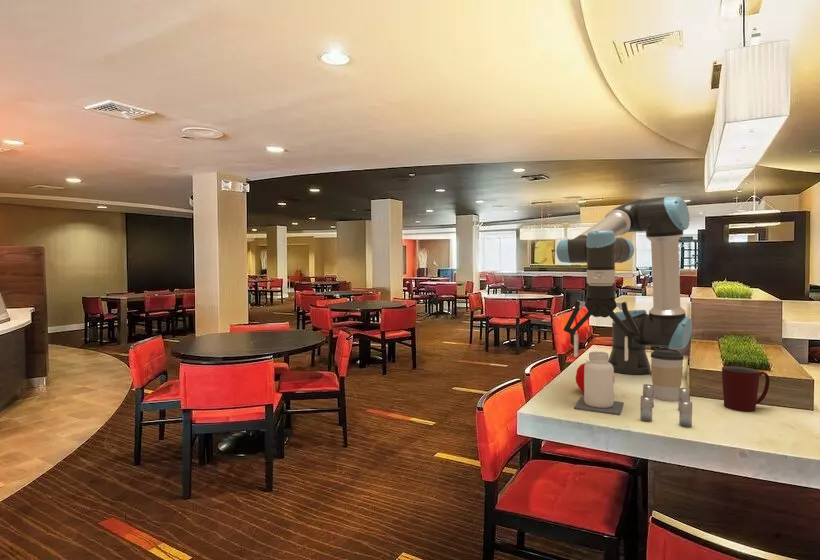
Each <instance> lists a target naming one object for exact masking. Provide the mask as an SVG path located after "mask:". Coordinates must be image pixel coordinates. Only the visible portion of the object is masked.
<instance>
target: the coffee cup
mask: <svg viewBox="0 0 820 560" xmlns="http://www.w3.org/2000/svg"><path fill="white" fill-rule="evenodd" d="M650 358H651V359H650V360H651V361H650V362H651V364H650V371H651V383H652V385H654V399H657V400H661V401H667V402H668V401H669V402H677V401H678V399H679V388H681V387H682V379H683V378H682V377H683V368H684V366H683V363H684V361H683V360H684V355H683V354H682V353H681V351H680V350H678V349H673V348H672V349H669V348H665V347H657V348H655V349H654V350H653V351H652V352H651V353H650Z"/></svg>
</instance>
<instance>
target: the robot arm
mask: <svg viewBox="0 0 820 560" xmlns="http://www.w3.org/2000/svg"><path fill="white" fill-rule="evenodd" d="M690 218H691V217H690V211H689V208H688V205H687V203H686V201H685V199H683V197H680V196H663V197H661V196H660V197H654V198H653V197H652V198H643V199H634V200H631V201H628V202H626V203H623V204H621V205H619V206H617V207H615V208H613V209H612V210H610V211H608V212H607V213H606V214H605V216H604V217H603V219H601V220H600V221H598V222H597V223H596V224H594V225H593V226H590V227H589V228H588V229H586V230H585V231H583V232H582V233H581V234H579V235H578V236H576V237H574V238H571V239H568V238H567V239H561V240H560V241H558V243H557V245H556V250H555V251H556V258H557V259H558V261H559V262H561V263H565V264H566V263H568V264H586V284H588V285H587V286H586V301H581V300H579V299H578V300H576V301H575V302H574V309H573V311H572V313H571V314H570V317H569V318H568V320H567V322H566V324H565V326H564V328H563V331H564V332H566V333H568V334H569V335H570V337H569V341H570V345H572V346H573V357H575V358H577V357H578V356H579V333H576V332H577V331H578V330H579V328H581V326H583V325H584V323H586V321H587V320H588V319H589V318H590V317H591V316H592V317H594V318H608V317H609V318H610V319H612V323H611V326H612V335H611V336H612V342H611V343H612V344H611V345H612V346H611V347H612V349H611V352H610V355H609V361H608V362H609V363H611V364H612V365H613V368H614V373H619V374H624V375H636V376H637V375H639V376H640V375H648V374H650V373H651V364H650V362H649V357H648V356H647V353H646V351H647V350H646V346H649V347H657V348H661V347H665V348H669V349H672V350H682V349H685V347H686V346H687V345H688V343H689V341H690V338H691V336H692V333H693V332H692V331H693V320H692V318H691V317H689V316H686V310H685V309H684V308H683V307H682V306H681V285H680V284H681V279H680V252H679V251H680V249H679V248H680V247H679V246H680V245H679V239H681V238H682V237H683V236H684V231H685V230H688V228H689V226H690ZM637 232H638V233H642V232H645V237H646V239H648V241H650V245H651V246H650V247H651V249H650V250H651V271H652V272H651V275H652V280H651V281H652V300H653V301H652V302H653V304H652V305H653V306H652V308H651V309H649V310H648V313H647V311H646V310H645V309H635V310H633V309H632V310H629V309H628V303H627V301H622V302H616V286H615V285H613V284H615V283H616V264H623V263H625V262H628V261H629V260H631V258H633V256H634V254H635V253H634V252H635V246H634V244H633V242H632V241H631V240H629V239H628V238H625V237H618V236H624V235H625V234H627V233H637ZM583 307H585V308H586V309H587V312H586V314H585V315H584V316H583V317H582V318H581V319H580V320H579V321H578V323H576V324H575V325H574V326H573V327H572V325H573V323H574V321H575V319H576V318H577V315H578V314H579V312H580V310H581V309H583ZM616 308H618V309H619V310H620V311H617V312H616V311H615V309H616ZM614 311H615V312H614Z"/></svg>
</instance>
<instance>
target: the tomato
mask: <svg viewBox="0 0 820 560" xmlns="http://www.w3.org/2000/svg"><path fill="white" fill-rule="evenodd" d="M585 361H586V362H588V360H586V359H585ZM586 362H585V363H586ZM585 363H584V362H583V363H581V364H580V365H579V366H578V368H577V369H576V373H575V384H576V385H577V387H578V388H579V390H581V391H582V392H583V393H584V366H585Z"/></svg>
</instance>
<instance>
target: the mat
mask: <svg viewBox="0 0 820 560" xmlns="http://www.w3.org/2000/svg"><path fill="white" fill-rule="evenodd" d="M624 402H625V401H617V400H614V402H613V406H612V407H608V408H597V407H592V406H589V405H587V404H585V402H584V396H580V397H579V399H578V401H576V404H575V405H574V407H573V409H574V410H581V411H588V412H594V413H601V414H608V415H616V416H620V415H621V414H622V409H623V406H624Z"/></svg>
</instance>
